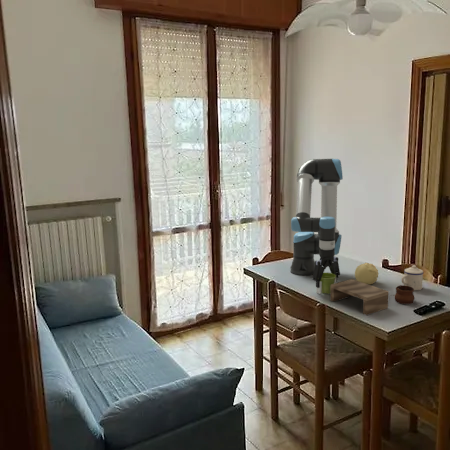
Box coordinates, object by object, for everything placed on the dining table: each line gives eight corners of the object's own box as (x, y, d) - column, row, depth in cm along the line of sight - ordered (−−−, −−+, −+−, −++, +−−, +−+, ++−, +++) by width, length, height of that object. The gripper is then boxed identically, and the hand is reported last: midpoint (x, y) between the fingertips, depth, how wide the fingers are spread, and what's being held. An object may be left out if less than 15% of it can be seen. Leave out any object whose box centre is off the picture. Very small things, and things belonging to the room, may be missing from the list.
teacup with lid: (412, 283, 237) (413, 262, 234) (426, 289, 228) (427, 266, 226) (394, 287, 232) (395, 265, 230) (408, 292, 224) (409, 270, 222)
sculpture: (379, 286, 234) (380, 266, 232) (355, 285, 236) (356, 265, 234) (376, 279, 245) (377, 260, 243) (353, 279, 247) (354, 259, 245)
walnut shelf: (330, 300, 216) (330, 284, 215) (351, 294, 224) (351, 279, 222) (366, 315, 198) (367, 297, 196) (387, 308, 205) (388, 291, 204)
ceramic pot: (379, 295, 222) (380, 281, 221) (416, 295, 221) (417, 281, 220) (390, 309, 205) (392, 294, 203) (431, 309, 204) (432, 295, 202)
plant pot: (339, 292, 227) (340, 275, 225) (326, 296, 222) (326, 279, 220) (325, 287, 235) (326, 271, 233) (312, 291, 230) (312, 275, 228)
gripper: (315, 253, 215) (315, 298, 219) (348, 246, 226) (347, 289, 231) (305, 250, 221) (304, 293, 226) (337, 243, 233) (336, 285, 237)
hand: (326, 291), depth 228 cm, fingers open, 9 cm apart
